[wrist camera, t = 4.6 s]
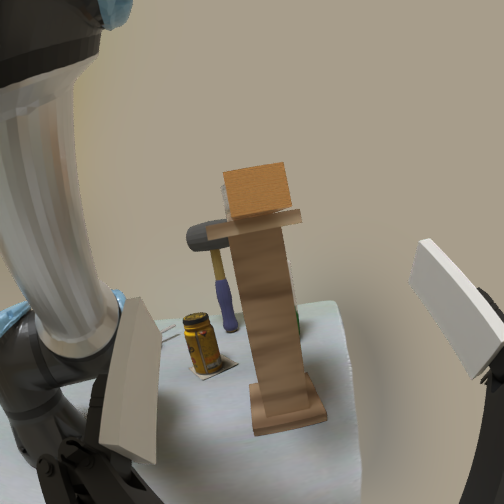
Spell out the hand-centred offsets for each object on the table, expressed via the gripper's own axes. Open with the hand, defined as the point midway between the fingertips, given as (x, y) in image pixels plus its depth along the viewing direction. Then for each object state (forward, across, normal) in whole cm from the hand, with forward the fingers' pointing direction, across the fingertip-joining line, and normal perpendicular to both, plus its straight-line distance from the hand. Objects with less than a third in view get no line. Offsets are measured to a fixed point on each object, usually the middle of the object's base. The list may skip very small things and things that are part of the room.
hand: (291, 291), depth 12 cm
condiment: (+23, -13, -42) cm, 49 cm away
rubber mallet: (+40, -9, -51) cm, 66 cm away
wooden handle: (+16, 0, -5) cm, 17 cm away
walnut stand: (+8, 0, -32) cm, 33 cm away
